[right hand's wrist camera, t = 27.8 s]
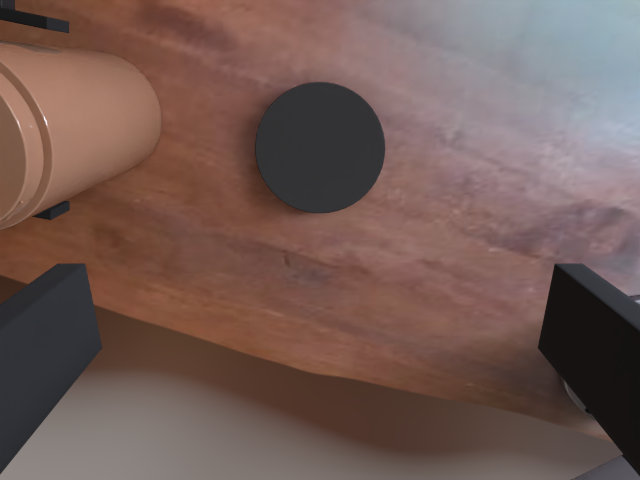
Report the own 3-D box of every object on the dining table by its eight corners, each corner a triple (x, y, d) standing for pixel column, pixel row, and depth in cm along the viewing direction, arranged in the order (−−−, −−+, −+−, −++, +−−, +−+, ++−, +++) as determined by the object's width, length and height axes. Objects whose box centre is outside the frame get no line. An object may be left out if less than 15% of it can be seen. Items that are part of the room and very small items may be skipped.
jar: (20, 110, 39) (-223, 137, 22) (91, 22, 36) (-118, -28, 19) (113, 194, 42) (-35, 278, 24) (186, 116, 39) (78, 148, 22)
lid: (402, 110, 39) (406, 112, 37) (354, 224, 43) (355, 230, 41) (281, 61, 38) (280, 60, 36) (241, 183, 41) (238, 187, 40)
